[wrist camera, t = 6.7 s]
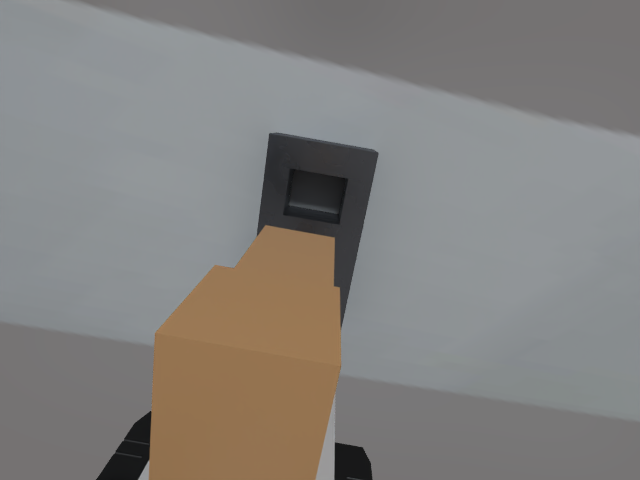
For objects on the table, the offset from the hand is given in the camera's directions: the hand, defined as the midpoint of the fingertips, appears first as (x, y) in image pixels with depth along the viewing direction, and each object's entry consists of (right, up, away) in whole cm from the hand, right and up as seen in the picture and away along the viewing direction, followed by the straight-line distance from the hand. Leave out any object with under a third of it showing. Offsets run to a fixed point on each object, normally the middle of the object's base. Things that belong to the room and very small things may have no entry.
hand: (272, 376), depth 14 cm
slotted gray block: (+1, +6, +18) cm, 19 cm away
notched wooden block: (0, +1, +3) cm, 3 cm away
